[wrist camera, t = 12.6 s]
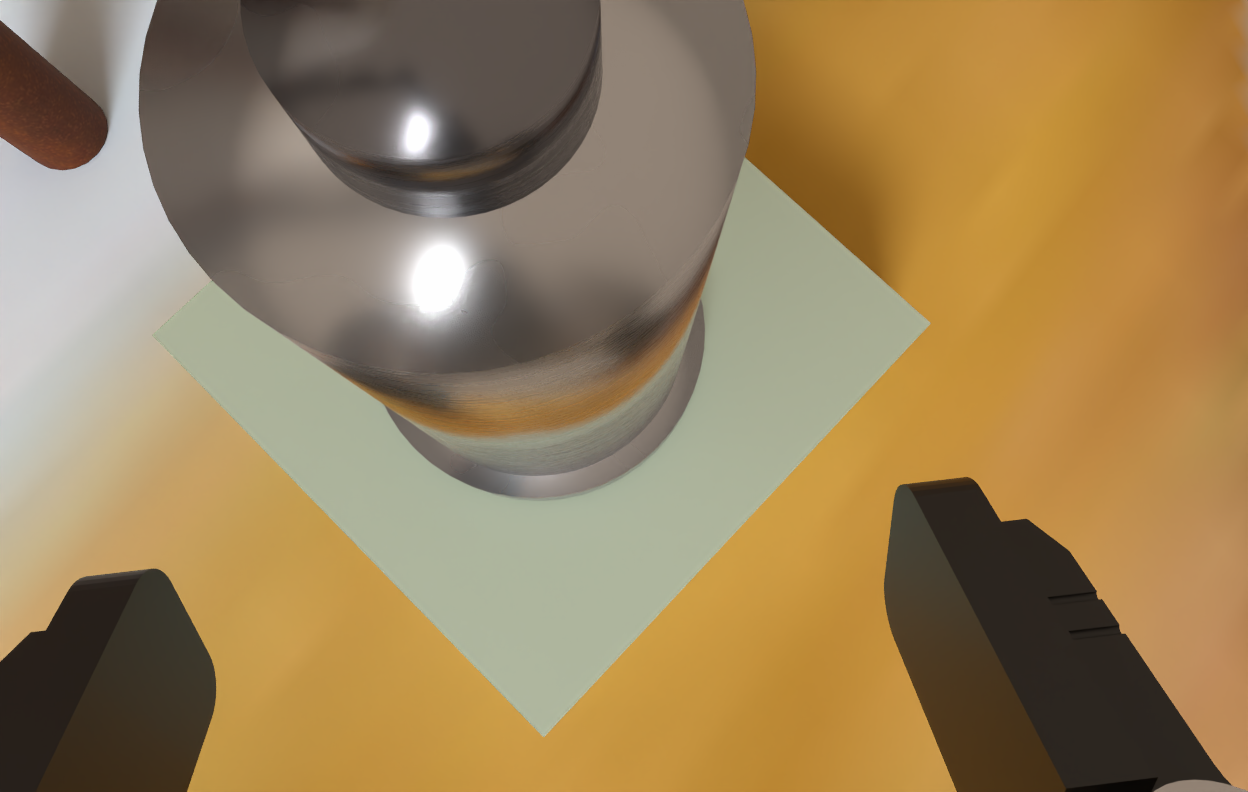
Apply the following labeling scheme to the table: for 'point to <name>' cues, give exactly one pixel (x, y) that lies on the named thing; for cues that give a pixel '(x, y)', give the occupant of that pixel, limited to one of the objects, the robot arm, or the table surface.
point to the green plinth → (599, 520)
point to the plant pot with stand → (45, 108)
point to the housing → (465, 206)
